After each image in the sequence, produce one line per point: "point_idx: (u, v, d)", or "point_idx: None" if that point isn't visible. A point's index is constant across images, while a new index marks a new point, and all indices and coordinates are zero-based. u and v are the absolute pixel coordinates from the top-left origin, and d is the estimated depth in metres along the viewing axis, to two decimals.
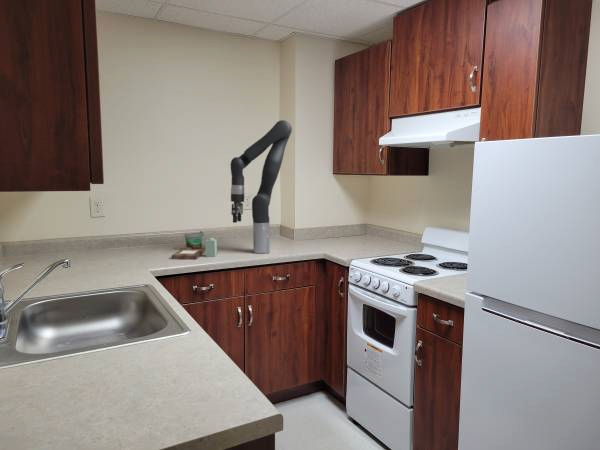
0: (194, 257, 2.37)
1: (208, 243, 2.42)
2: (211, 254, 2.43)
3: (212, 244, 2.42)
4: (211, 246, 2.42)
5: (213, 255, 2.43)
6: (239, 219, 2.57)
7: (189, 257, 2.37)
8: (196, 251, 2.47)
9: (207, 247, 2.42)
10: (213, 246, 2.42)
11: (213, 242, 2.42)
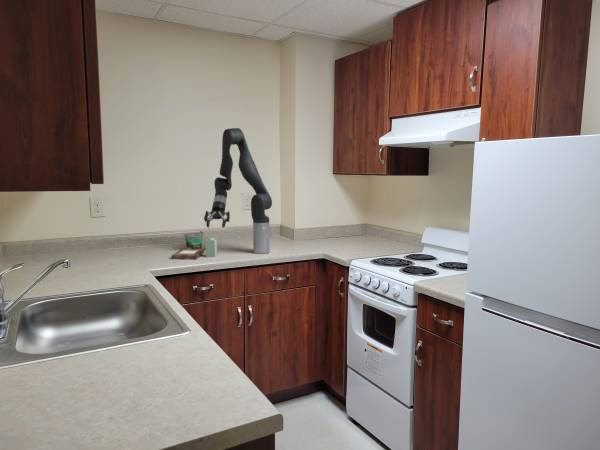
0: (194, 257, 2.37)
1: (208, 243, 2.42)
2: (211, 254, 2.43)
3: (212, 244, 2.42)
4: (211, 246, 2.42)
5: (213, 255, 2.43)
6: None
7: (189, 257, 2.37)
8: (196, 251, 2.47)
9: (207, 247, 2.42)
10: (213, 246, 2.42)
11: (213, 242, 2.42)
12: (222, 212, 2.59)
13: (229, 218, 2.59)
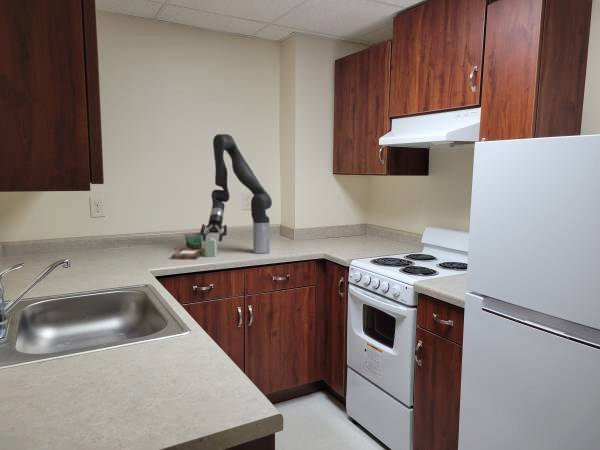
0: (194, 257, 2.37)
1: (208, 243, 2.42)
2: (211, 254, 2.43)
3: (212, 244, 2.42)
4: (211, 246, 2.42)
5: (213, 255, 2.43)
6: None
7: (189, 257, 2.37)
8: (196, 251, 2.47)
9: (207, 247, 2.42)
10: (213, 246, 2.42)
11: (213, 242, 2.42)
12: (219, 225, 2.52)
13: (226, 232, 2.52)
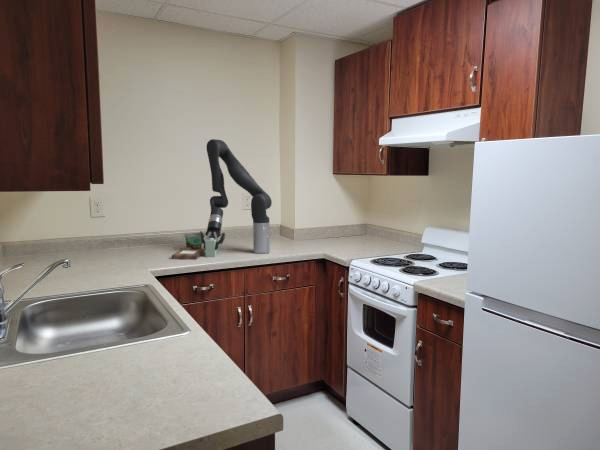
0: (194, 257, 2.37)
1: (208, 243, 2.42)
2: (211, 254, 2.43)
3: (212, 244, 2.42)
4: (211, 246, 2.42)
5: (213, 255, 2.43)
6: None
7: (189, 257, 2.37)
8: (196, 251, 2.47)
9: (207, 247, 2.42)
10: (213, 246, 2.42)
11: (213, 242, 2.42)
12: (218, 232, 2.48)
13: (223, 240, 2.47)
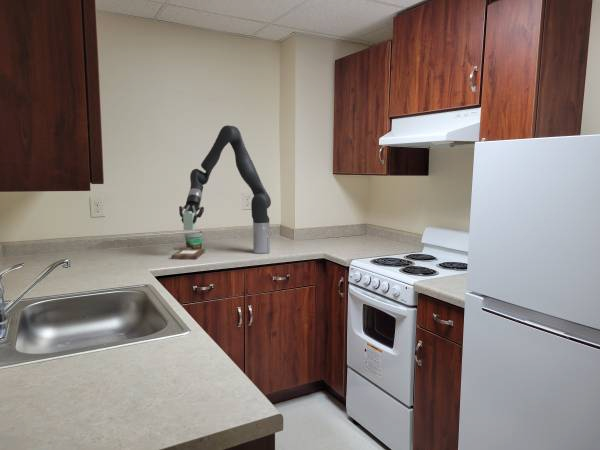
0: (194, 257, 2.37)
1: (186, 216, 2.41)
2: (189, 227, 2.41)
3: (190, 217, 2.41)
4: (189, 219, 2.41)
5: (191, 228, 2.41)
6: None
7: (189, 257, 2.37)
8: (196, 251, 2.47)
9: (185, 220, 2.41)
10: (191, 219, 2.41)
11: (191, 215, 2.40)
12: (196, 206, 2.47)
13: None
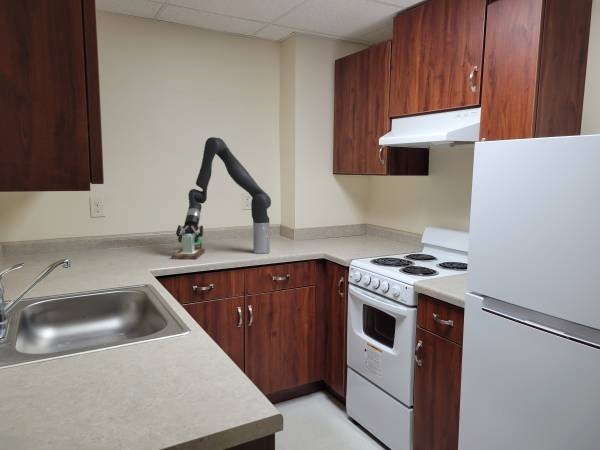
0: (194, 257, 2.37)
1: (185, 239, 2.42)
2: (188, 250, 2.43)
3: (189, 240, 2.42)
4: (188, 242, 2.42)
5: (190, 251, 2.43)
6: None
7: (189, 257, 2.37)
8: (196, 251, 2.47)
9: (184, 243, 2.42)
10: (190, 242, 2.42)
11: (190, 238, 2.42)
12: (195, 226, 2.48)
13: (202, 232, 2.48)
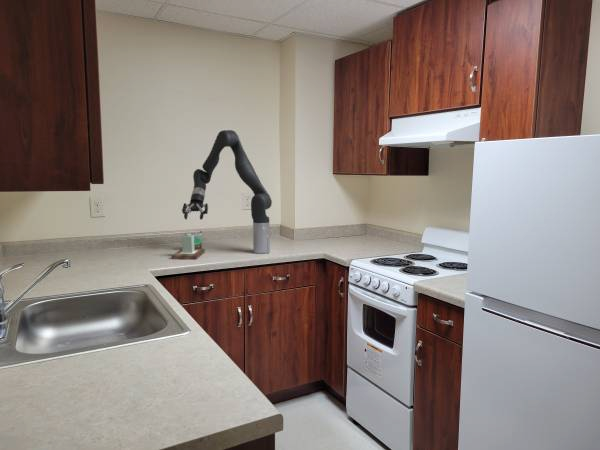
0: (194, 257, 2.37)
1: (185, 239, 2.42)
2: (188, 250, 2.43)
3: (189, 240, 2.42)
4: (188, 242, 2.42)
5: (190, 251, 2.43)
6: None
7: (189, 257, 2.37)
8: (196, 251, 2.47)
9: (184, 243, 2.42)
10: (190, 242, 2.42)
11: (190, 238, 2.42)
12: (200, 204, 2.59)
13: (207, 210, 2.59)
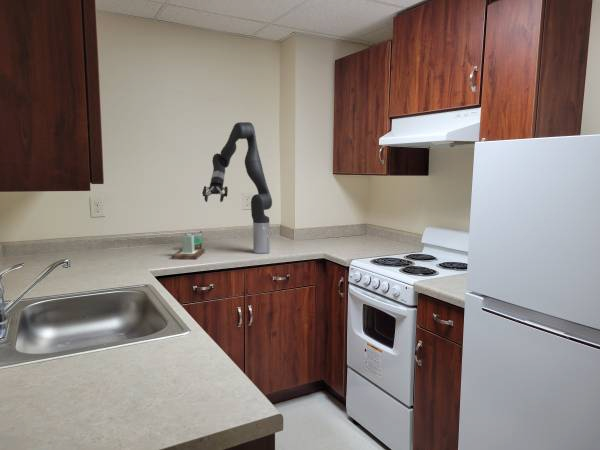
0: (194, 257, 2.37)
1: (185, 239, 2.42)
2: (188, 250, 2.43)
3: (189, 240, 2.42)
4: (188, 242, 2.42)
5: (190, 251, 2.43)
6: None
7: (189, 257, 2.37)
8: (196, 251, 2.47)
9: (184, 243, 2.42)
10: (190, 242, 2.42)
11: (190, 238, 2.42)
12: (220, 187, 2.63)
13: (227, 193, 2.63)
